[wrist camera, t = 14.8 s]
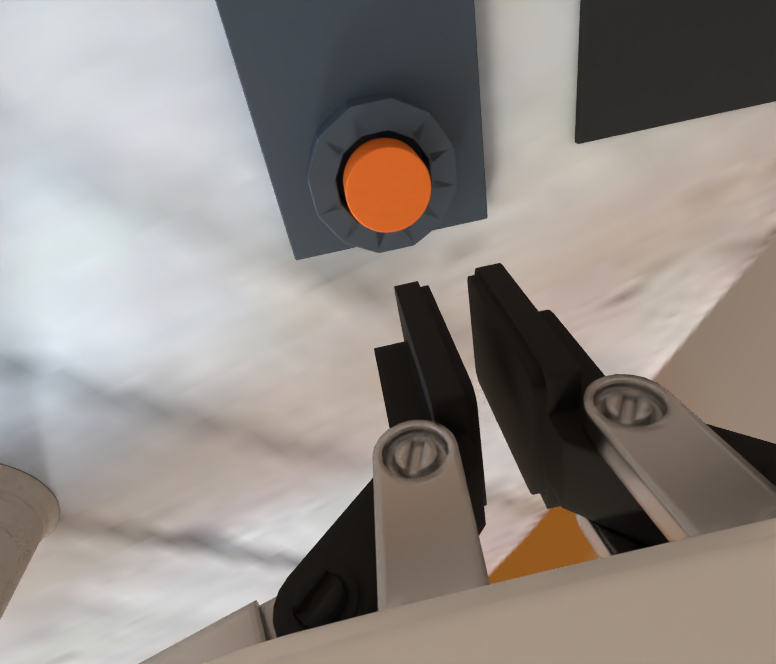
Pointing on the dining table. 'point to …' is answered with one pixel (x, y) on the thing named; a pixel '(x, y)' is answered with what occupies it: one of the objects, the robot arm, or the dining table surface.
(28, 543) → the glass holder
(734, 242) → the dining table surface
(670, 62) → the desk pad
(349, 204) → the button
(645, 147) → the dining table surface
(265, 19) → the grey button base
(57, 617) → the dining table surface
